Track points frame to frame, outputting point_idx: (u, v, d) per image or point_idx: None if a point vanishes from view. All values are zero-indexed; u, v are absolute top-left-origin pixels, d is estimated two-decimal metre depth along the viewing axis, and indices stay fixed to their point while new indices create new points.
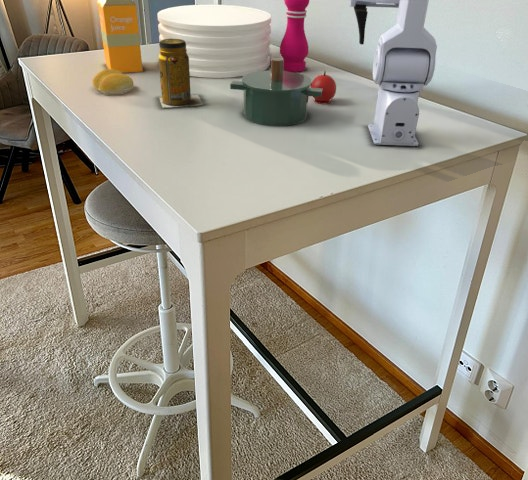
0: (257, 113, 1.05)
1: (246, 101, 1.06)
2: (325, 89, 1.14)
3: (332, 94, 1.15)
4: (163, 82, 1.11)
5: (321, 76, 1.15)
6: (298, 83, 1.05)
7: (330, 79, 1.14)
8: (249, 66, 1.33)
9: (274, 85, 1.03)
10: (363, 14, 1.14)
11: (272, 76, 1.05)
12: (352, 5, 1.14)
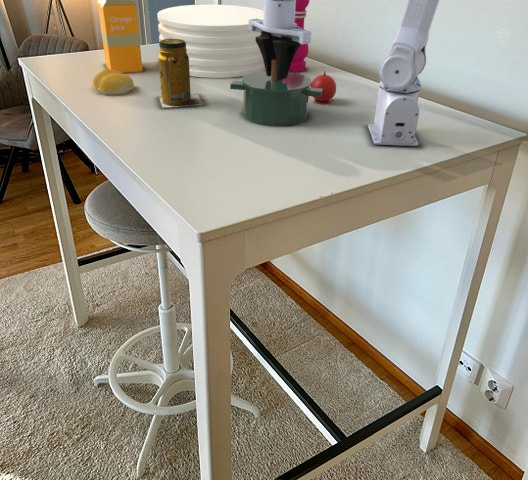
0: (257, 113, 1.05)
1: (246, 101, 1.06)
2: (325, 89, 1.14)
3: (332, 94, 1.15)
4: (163, 82, 1.11)
5: (321, 76, 1.15)
6: (298, 83, 1.05)
7: (330, 79, 1.14)
8: (249, 66, 1.33)
9: (274, 85, 1.03)
10: (260, 42, 1.02)
11: (272, 76, 1.05)
12: (250, 29, 1.05)
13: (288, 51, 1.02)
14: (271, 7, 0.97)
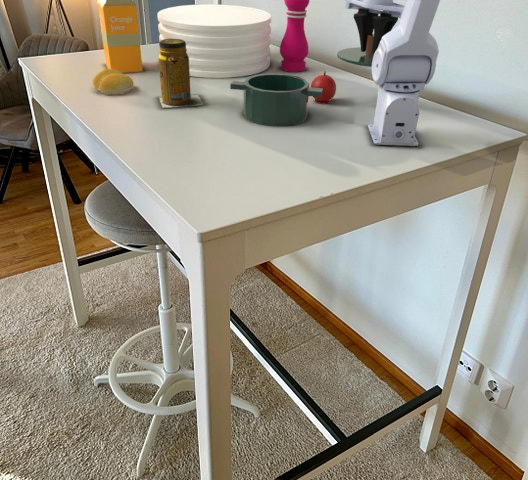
0: (257, 113, 1.05)
1: (246, 101, 1.06)
2: (325, 89, 1.14)
3: (332, 94, 1.15)
4: (163, 82, 1.11)
5: (321, 76, 1.15)
6: None
7: (330, 79, 1.14)
8: (249, 66, 1.33)
9: (371, 59, 1.09)
10: (359, 19, 1.08)
11: (367, 51, 1.11)
12: (346, 7, 1.11)
13: (385, 27, 1.08)
14: None
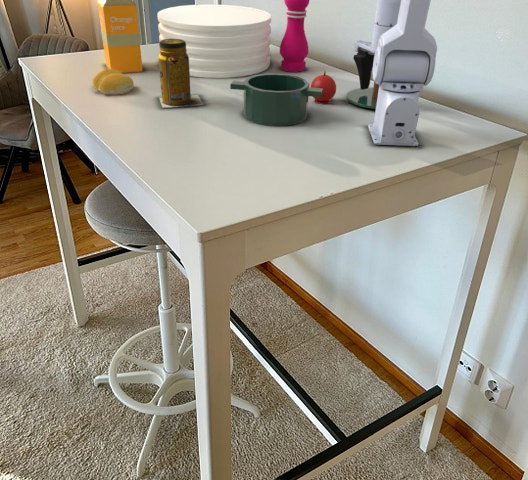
0: (257, 113, 1.05)
1: (246, 101, 1.06)
2: (325, 89, 1.14)
3: (332, 94, 1.15)
4: (163, 82, 1.11)
5: (321, 76, 1.15)
6: None
7: (330, 79, 1.14)
8: (249, 66, 1.33)
9: None
10: (358, 60, 1.15)
11: (374, 94, 1.17)
12: (355, 50, 1.17)
13: None
14: (382, 31, 1.08)
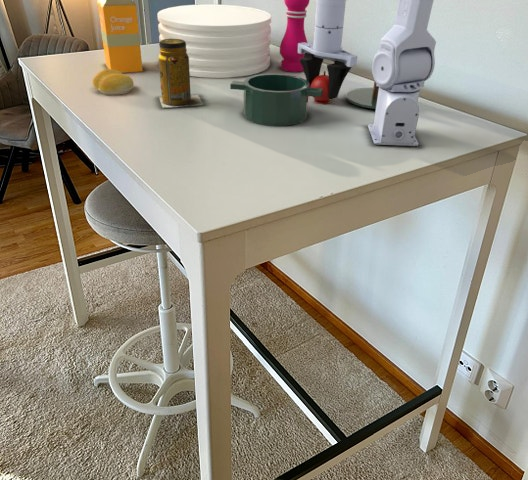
0: (257, 113, 1.05)
1: (246, 101, 1.06)
2: (325, 89, 1.14)
3: None
4: (163, 82, 1.11)
5: (321, 76, 1.15)
6: None
7: None
8: (249, 66, 1.33)
9: None
10: (304, 63, 1.14)
11: (374, 94, 1.17)
12: (299, 52, 1.16)
13: (339, 73, 1.13)
14: (322, 33, 1.08)
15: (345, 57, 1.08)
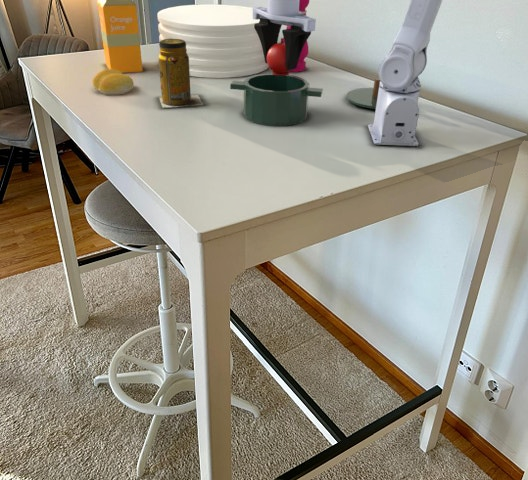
0: (257, 113, 1.05)
1: (246, 101, 1.06)
2: (282, 58, 1.02)
3: None
4: (163, 82, 1.11)
5: (278, 44, 1.03)
6: None
7: None
8: (249, 66, 1.33)
9: None
10: (259, 29, 1.02)
11: (374, 94, 1.17)
12: (254, 17, 1.04)
13: (298, 41, 1.01)
14: None
15: (302, 20, 0.96)
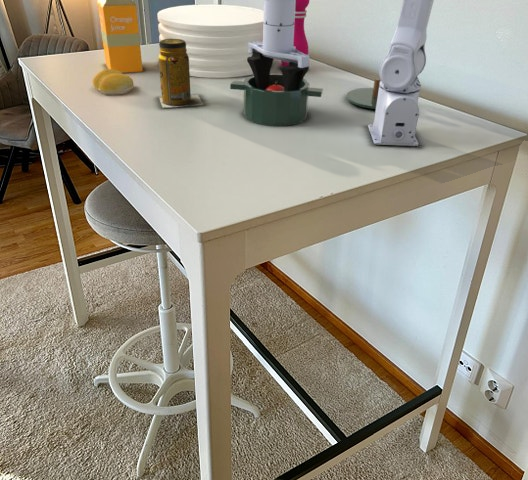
0: (257, 113, 1.05)
1: (246, 101, 1.06)
2: None
3: None
4: (163, 82, 1.11)
5: (273, 86, 1.06)
6: None
7: (282, 89, 1.06)
8: (249, 66, 1.33)
9: None
10: (252, 63, 1.06)
11: (374, 94, 1.17)
12: (249, 51, 1.07)
13: (296, 76, 1.03)
14: (270, 31, 0.99)
15: (296, 57, 0.99)
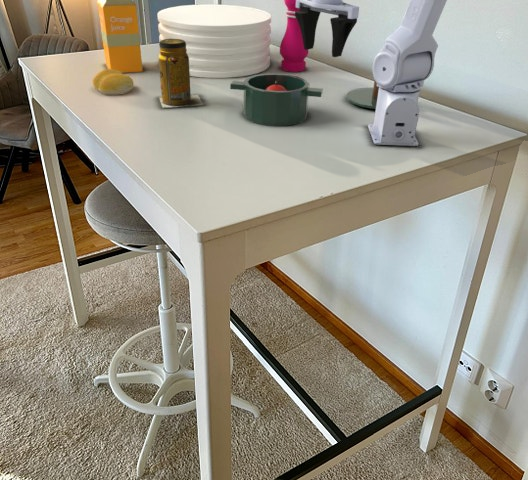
0: (257, 113, 1.05)
1: (246, 101, 1.06)
2: None
3: None
4: (163, 82, 1.11)
5: (273, 86, 1.06)
6: None
7: (282, 89, 1.06)
8: (249, 66, 1.33)
9: None
10: (300, 16, 1.08)
11: (374, 94, 1.17)
12: (297, 6, 1.09)
13: (344, 29, 1.06)
14: None
15: (346, 8, 1.01)
